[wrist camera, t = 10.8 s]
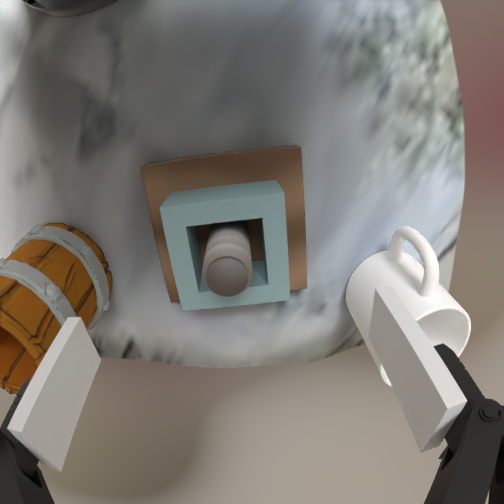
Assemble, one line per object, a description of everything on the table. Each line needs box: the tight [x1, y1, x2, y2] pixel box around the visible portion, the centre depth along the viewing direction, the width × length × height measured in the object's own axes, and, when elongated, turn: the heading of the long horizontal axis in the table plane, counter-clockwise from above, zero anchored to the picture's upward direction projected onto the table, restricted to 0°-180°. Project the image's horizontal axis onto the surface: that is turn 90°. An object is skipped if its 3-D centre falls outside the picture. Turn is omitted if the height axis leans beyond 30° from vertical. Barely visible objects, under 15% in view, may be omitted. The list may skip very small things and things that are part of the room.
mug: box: [0, 223, 112, 395], centre depth 21 cm, size 11×16×15 cm, turn 125°
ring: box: [160, 180, 290, 311], centre depth 23 cm, size 8×8×4 cm
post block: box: [141, 146, 307, 303], centre depth 22 cm, size 12×12×9 cm
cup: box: [346, 226, 471, 387], centre depth 25 cm, size 8×12×10 cm
